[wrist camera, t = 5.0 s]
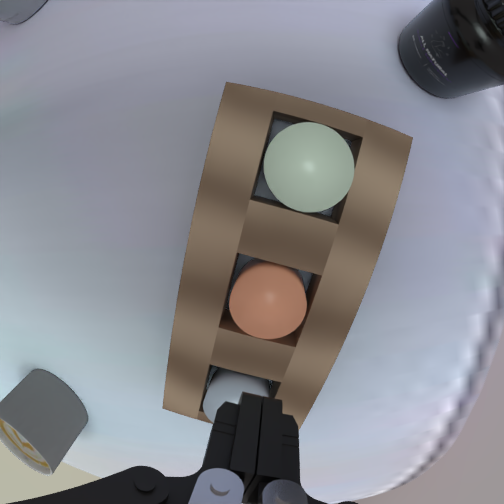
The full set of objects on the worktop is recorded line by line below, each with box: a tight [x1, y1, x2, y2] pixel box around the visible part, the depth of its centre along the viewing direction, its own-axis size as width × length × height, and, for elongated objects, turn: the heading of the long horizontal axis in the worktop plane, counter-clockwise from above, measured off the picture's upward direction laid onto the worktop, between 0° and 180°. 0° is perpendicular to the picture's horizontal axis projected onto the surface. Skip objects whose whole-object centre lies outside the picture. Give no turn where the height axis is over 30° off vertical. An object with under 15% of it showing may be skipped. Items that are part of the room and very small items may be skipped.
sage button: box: [264, 122, 354, 212], centre depth 17 cm, size 5×5×3 cm
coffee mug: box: [0, 369, 88, 476], centre depth 26 cm, size 13×10×10 cm
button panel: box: [163, 82, 413, 430], centre depth 21 cm, size 26×12×3 cm, turn 166°
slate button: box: [203, 367, 270, 423], centre depth 22 cm, size 5×5×3 cm
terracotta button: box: [229, 258, 307, 339], centre depth 21 cm, size 5×5×3 cm
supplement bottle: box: [399, 0, 504, 98], centre depth 11 cm, size 7×7×12 cm
